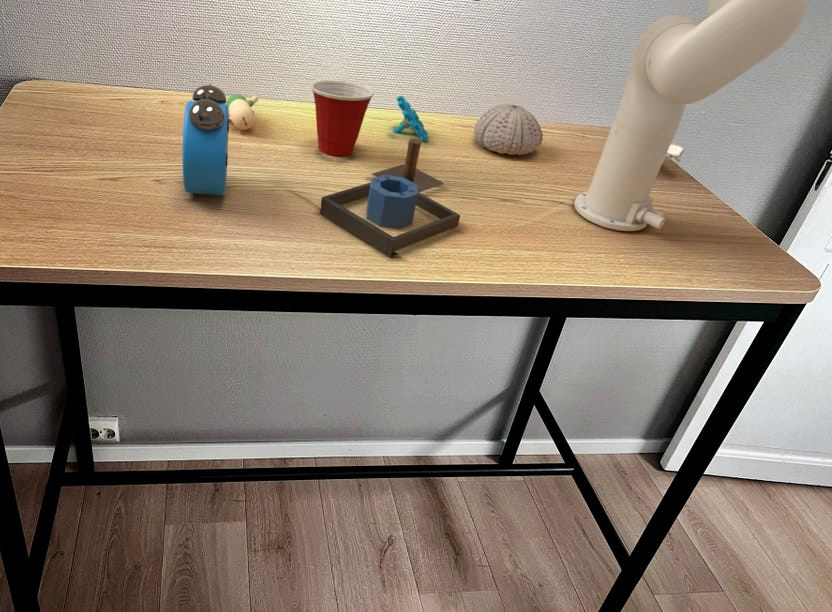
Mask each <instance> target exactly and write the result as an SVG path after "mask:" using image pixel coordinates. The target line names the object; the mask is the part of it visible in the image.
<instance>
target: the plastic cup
mask: <svg viewBox="0 0 832 612" xmlns="http://www.w3.org/2000/svg"><path fill="white" fill-rule="evenodd" d="M310 89H311V91H312V93H313V98H314V106H315V120H316V135H317V148H318V151H320V152H321V153H322V154H324V155H326V156H330V157H333V158H334V157H336V158H345V157H346V158H347V157H348V156H351V155H352V154H353V152H354V149H355V146H356V142H357V141H358V138H359V135H360V132H361V128H362V125H363V122H364V118H365V115H366V112H367V110H368V107H369V105H370V102H371V100H372V98H373V97H374V96H375V91H374V90H373V89H372V88H370V87H369V86H367V85H364V84H360V83H357V82H352V81H346V80H335V79H332V80H331V79H329V80H328V79H327V80H319V81H318V80H317V81H313V82H312V83H311V84H310Z"/></svg>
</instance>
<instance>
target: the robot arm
mask: <svg viewBox="0 0 832 612" xmlns="http://www.w3.org/2000/svg"><path fill="white" fill-rule="evenodd" d="M474 1H475V2H480V0H474ZM807 3H808V0H708V3H707V9H708V10H707V11H708V15H709V16H708V17H707V18H706V19H703V21H702V22H699V21H697V20H695V19H694V18H692V17H690V16H687V15H683V14H671V15H667V16H664V17H661V18H660V19H658V20H656V21H654V22H653V23H652V24H651V25H650V26H649V27H647V28H646V29H645V31H644V32H643V33H642V34H641V36H640V38H639V40H638V42H637V44H636V47H635V50H634V53H633V57H632V59H631V65H630V69H629V73H628V77H627V79H626V83H625V87H624V91H623V94H622V96H621V100H620V103H619V105H618V108H617V111H616V114H615V117H614V119H613V121H612V124H611V126H610V130H609V133H608V136H607V138H606V141H605V143H604V147H603V149H602V152H601V155H600V158H599V160H598V163H597V166H596V169H595V171H594V173H593V177H592V180H591V183H590V185H589V188H588V190H587V191H585V192H581V193H580V194H578V195H577V196H576V197H575V200H574V203H573V206H574V209H575V211H576V212H577V213H578V214H579V215H580V216H581V217H583V218H584V219H585V220H587V221H589V222H591V223H593V224H595V225H598V226H600V227H602V228H607V229H609V230H613V231H620V232H636V231H640V230H643V229H644V228H646V227H647V226H648V225H649V226H651V227H653V228H655V229H657V230H661V229H662V228H663V226H664V224H665V223H666V218H665V212H662V211H661V210H658V209H656V208H654V207H653V205H652V203H653V201H654V199H655V198H654V197H652V196H650V193H651V192H652V189H653V187H654V184H655V182H656V179H657V178H658V175H659V172H660V170H661V168H662V166H663V164H664V162H665V160H664V158H665V159H666V156H667V154H668V153H667V151H668V149H669V146H670V144H671V145H672V143H673V142H672V141H673V139H674V136H675V135H676V133H677V131H678V129H679V126H680V123H681V121H682V118H683V115H684V112H685V109H686V106H687V105H690V104H694V103H697V102H701V101H702V100H704V99H706V98H708V97H710V96H711V95H714V94H715V93H716V92H719V90H721V89H722V88H724V87H726V86H727V85H728V84H730V83H731V82H733V81H734V80H736V79H737V78H739V77H740V76H742V75H743V74H744V73H746V72H747V71H749V70H750V69H752V68H753V67H755V66H756V65H757V64H759V63H760V62H762V61H764V60H765V59H767V58H768V57H769V56H770V55H772V54H773V53H775V52H776V51H778V50H779V49H780V48H782V46H783V45H785V44H786V43H787V42H788V41H789V39H791V37H792V36H793V35H794V34H795V33H796V31H797V30H798V29H799V27H800V25H801V24H802V22H803V19H804V18H805V15H806V11H807V5H808V4H807Z"/></svg>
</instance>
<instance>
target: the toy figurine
mask: <svg viewBox="0 0 832 612" xmlns="http://www.w3.org/2000/svg"><path fill="white" fill-rule="evenodd" d="M258 101H259V97H258V96H257V95H253V96H252V97H250V99H249V100H248V99H247V98H246V97H245V96H244V95H242V94H240V93H239V94H238V93H236V94H232V95H231V96H229V97H228V98H227V99H226V103H225V104H226V105H228V109H229V121H230V122H231V124H232V125H233V126H234V127H235V128H237V129H238V130H242V131H245V130H246V131H247V130H249V129H251V128H252V127H253V126H254V123H255V119H256V116H255V115H256V114H255V112H254V109H253V107H254V105H255V104H256V103H257V102H258Z"/></svg>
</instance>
